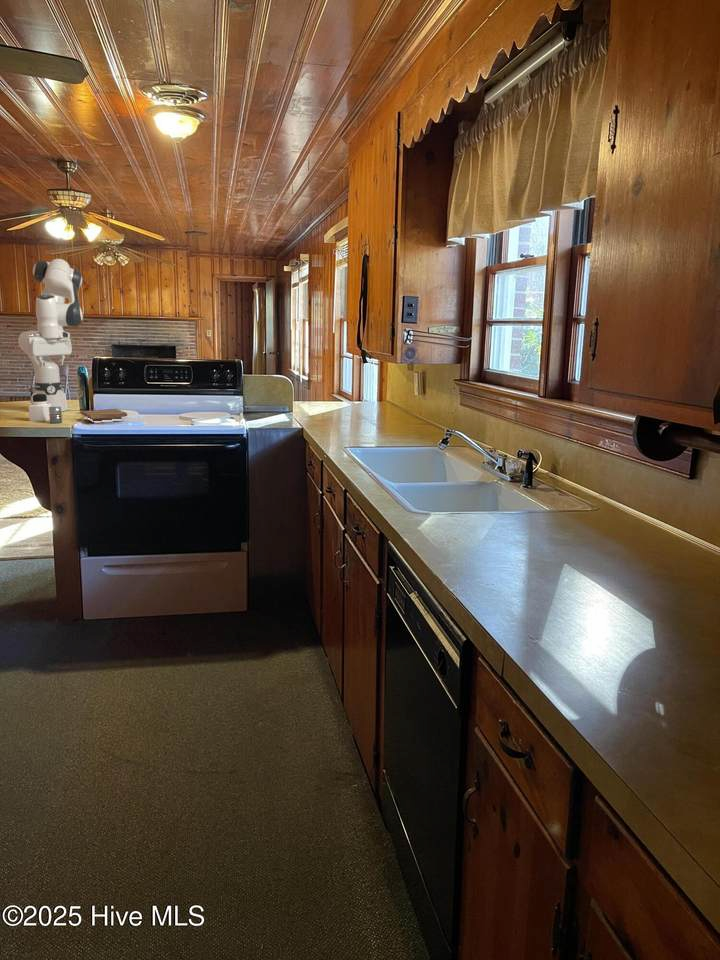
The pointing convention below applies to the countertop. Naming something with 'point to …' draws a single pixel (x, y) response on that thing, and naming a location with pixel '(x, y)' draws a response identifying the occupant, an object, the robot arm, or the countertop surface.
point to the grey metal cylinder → (55, 415)
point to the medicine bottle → (39, 408)
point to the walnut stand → (104, 414)
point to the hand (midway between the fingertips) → (51, 365)
